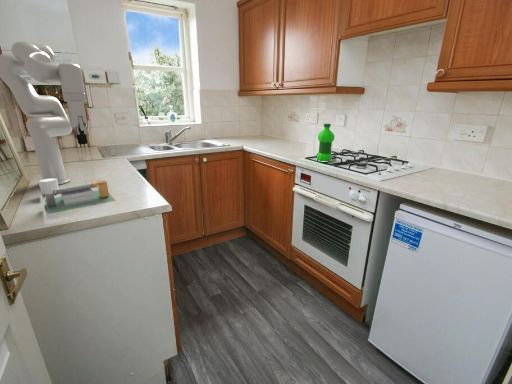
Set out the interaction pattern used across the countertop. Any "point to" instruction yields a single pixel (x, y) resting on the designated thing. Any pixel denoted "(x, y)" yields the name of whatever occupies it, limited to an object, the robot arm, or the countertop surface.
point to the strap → (72, 189)
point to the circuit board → (62, 207)
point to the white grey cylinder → (48, 185)
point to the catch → (101, 187)
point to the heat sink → (72, 198)
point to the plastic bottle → (325, 144)
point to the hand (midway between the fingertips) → (82, 143)
